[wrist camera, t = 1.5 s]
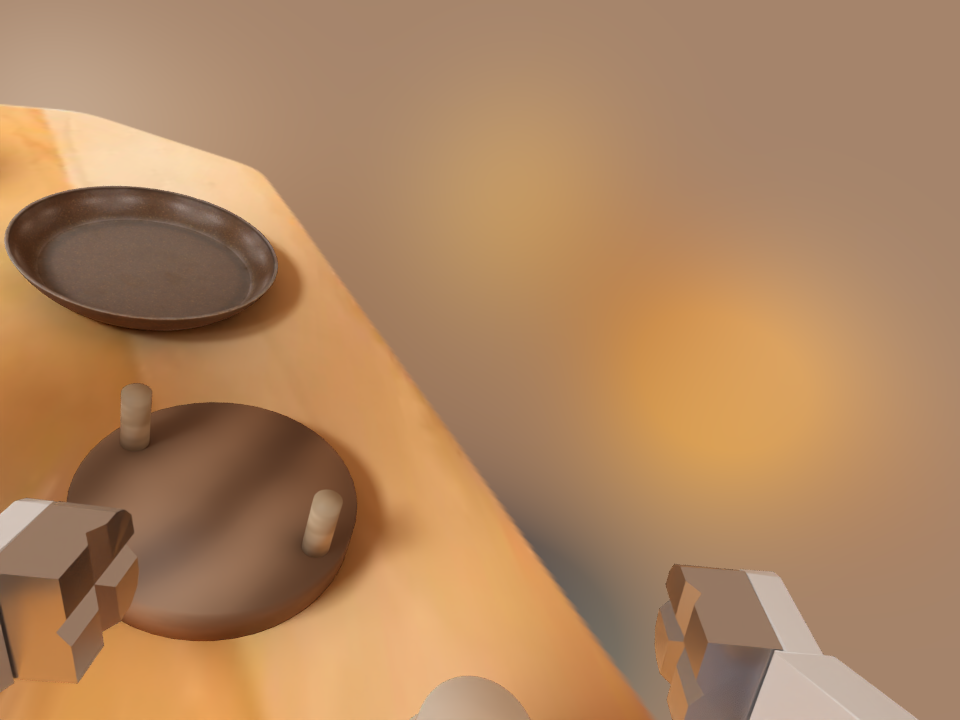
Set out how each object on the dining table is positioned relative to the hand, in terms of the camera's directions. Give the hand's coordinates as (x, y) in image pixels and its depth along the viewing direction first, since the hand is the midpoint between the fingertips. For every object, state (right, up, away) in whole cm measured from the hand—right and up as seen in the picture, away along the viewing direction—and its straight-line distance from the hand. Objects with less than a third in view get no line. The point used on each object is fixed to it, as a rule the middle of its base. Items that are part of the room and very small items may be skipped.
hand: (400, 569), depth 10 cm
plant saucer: (-28, +10, +50) cm, 58 cm away
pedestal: (-15, -7, +32) cm, 36 cm away
